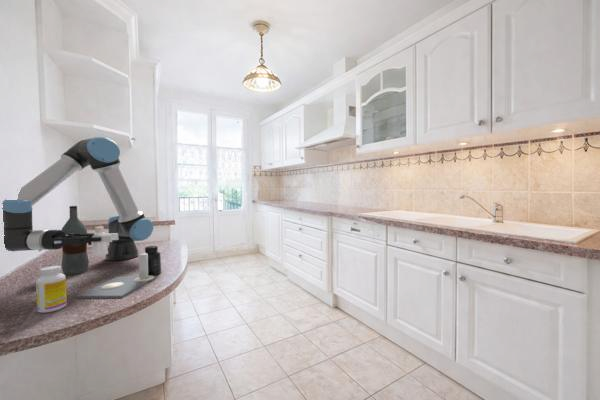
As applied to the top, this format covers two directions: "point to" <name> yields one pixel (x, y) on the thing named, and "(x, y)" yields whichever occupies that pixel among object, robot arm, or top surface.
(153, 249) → the supplement bottle
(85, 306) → the top surface
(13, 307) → the top surface
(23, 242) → the robot arm
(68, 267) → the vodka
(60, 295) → the supplement bottle
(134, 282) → the board
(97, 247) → the pepper shaker
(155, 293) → the top surface
